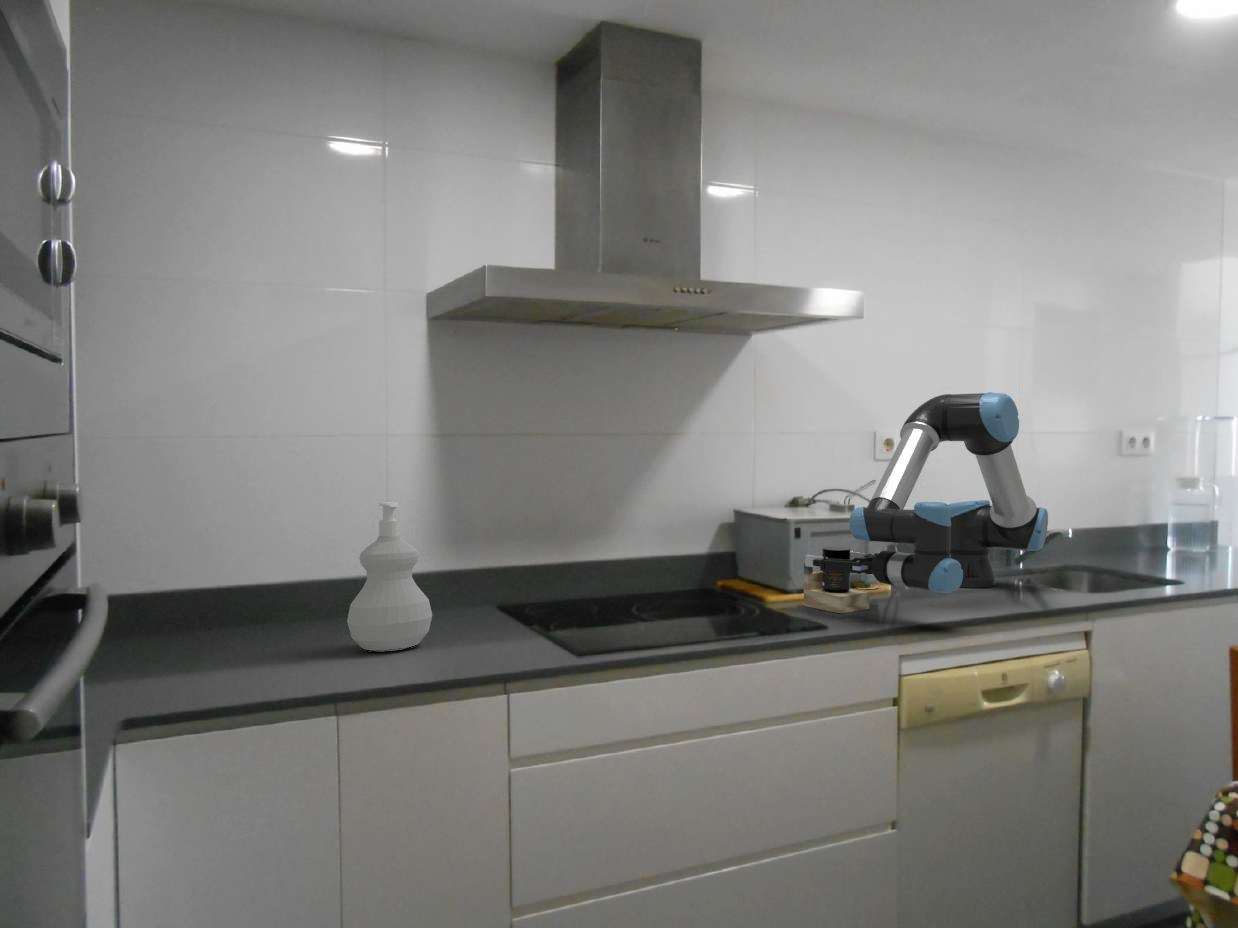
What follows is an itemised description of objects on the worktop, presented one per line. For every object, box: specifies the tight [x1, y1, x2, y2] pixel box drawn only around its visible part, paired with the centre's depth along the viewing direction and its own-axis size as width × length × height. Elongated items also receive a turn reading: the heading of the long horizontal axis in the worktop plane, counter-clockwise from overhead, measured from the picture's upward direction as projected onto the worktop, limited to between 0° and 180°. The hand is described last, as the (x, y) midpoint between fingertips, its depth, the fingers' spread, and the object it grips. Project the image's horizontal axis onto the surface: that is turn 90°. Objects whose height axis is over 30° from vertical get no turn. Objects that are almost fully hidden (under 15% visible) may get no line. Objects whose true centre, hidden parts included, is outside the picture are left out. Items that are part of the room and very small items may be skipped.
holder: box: [803, 563, 871, 614], centre depth 221 cm, size 10×12×10 cm
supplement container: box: [821, 546, 851, 593], centre depth 221 cm, size 7×7×10 cm
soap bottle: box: [346, 501, 433, 650], centre depth 181 cm, size 17×12×29 cm
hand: (825, 558), depth 224 cm, fingers open, 13 cm apart
